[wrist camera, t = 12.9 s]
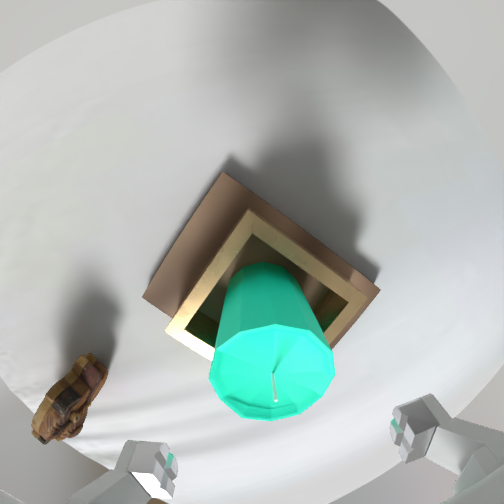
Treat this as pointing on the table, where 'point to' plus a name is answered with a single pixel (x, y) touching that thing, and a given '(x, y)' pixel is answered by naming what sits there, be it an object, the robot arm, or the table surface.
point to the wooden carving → (69, 401)
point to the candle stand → (243, 254)
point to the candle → (269, 346)
